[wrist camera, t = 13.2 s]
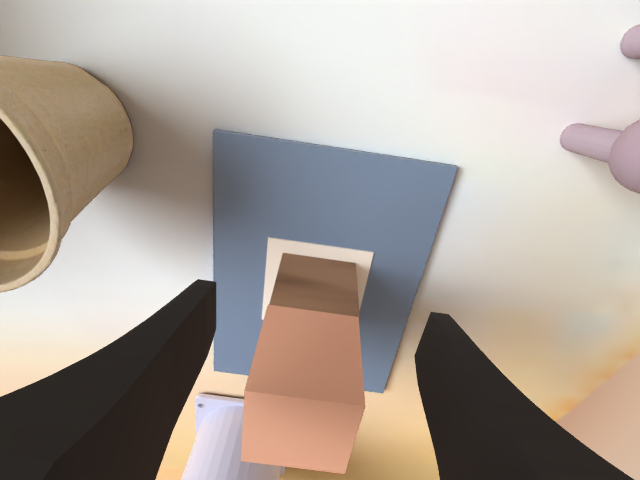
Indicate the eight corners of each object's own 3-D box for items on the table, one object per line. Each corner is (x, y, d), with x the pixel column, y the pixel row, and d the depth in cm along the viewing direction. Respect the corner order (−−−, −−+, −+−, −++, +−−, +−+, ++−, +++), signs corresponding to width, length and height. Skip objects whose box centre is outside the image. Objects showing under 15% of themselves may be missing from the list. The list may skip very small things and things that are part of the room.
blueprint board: (382, 388, 28) (383, 394, 28) (215, 366, 28) (213, 372, 27) (455, 165, 20) (458, 168, 19) (215, 129, 19) (212, 131, 19)
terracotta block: (343, 379, 20) (344, 474, 16) (262, 368, 20) (240, 460, 16) (358, 316, 18) (365, 406, 14) (267, 304, 18) (244, 390, 13)
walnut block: (343, 318, 24) (344, 379, 20) (276, 309, 24) (263, 368, 20) (355, 263, 22) (360, 317, 18) (282, 252, 22) (269, 304, 18)
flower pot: (85, 232, 23) (-41, 328, 15) (-54, 94, 19) (-312, 130, 11) (199, 157, 20) (115, 227, 12) (64, -20, 16) (-171, -73, 9)
